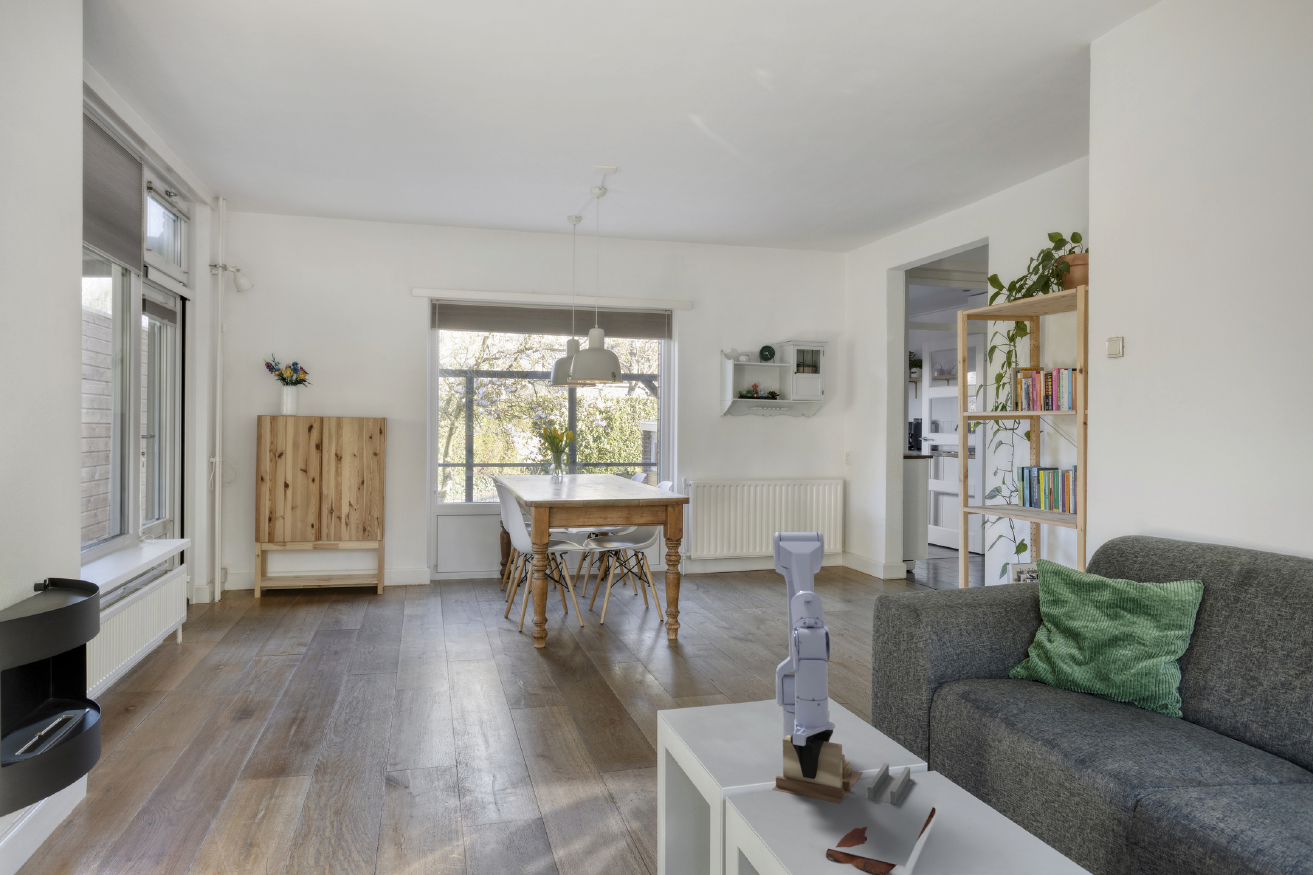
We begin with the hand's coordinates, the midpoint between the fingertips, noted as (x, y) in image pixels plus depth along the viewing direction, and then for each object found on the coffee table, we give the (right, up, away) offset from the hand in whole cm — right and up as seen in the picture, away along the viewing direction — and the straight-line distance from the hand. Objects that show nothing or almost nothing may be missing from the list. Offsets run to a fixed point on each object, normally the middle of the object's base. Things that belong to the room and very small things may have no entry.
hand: (812, 773), depth 141 cm
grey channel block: (+13, -3, -1) cm, 14 cm away
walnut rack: (+2, -4, +3) cm, 5 cm away
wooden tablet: (+9, -4, -15) cm, 18 cm away
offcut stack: (+4, -3, +7) cm, 9 cm away
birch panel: (0, -2, 0) cm, 2 cm away
